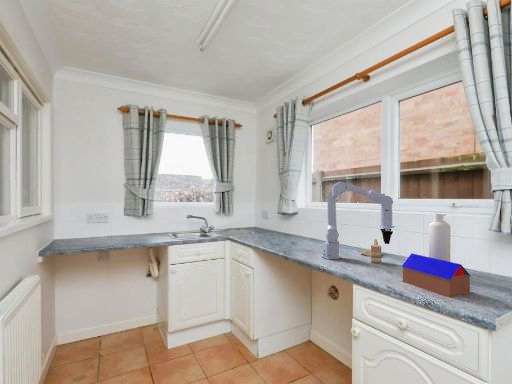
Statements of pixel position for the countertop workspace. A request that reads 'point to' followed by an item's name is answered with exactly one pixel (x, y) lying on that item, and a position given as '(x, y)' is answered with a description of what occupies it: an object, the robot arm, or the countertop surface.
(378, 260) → the tower bottom
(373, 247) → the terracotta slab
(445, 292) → the house
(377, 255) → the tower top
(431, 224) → the bottle
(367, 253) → the bone
